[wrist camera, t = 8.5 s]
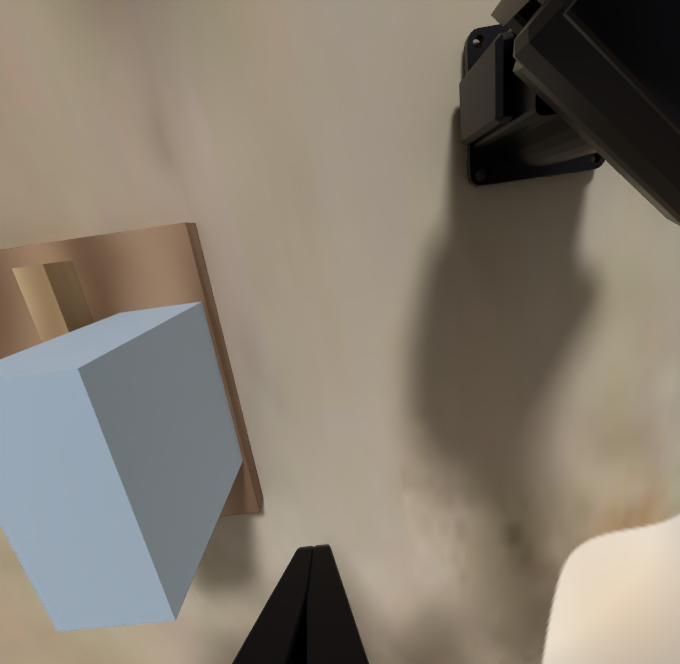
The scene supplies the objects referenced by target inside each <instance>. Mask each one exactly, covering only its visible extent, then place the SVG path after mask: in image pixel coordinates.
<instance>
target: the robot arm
mask: <svg viewBox="0 0 680 664" xmlns="http://www.w3.org/2000/svg"><path fill="white" fill-rule="evenodd" d="M491 16H493V17H494V18H495V19H496V20H497V21H498V22H499V23H500V25H494V26H488V27H482V28H477V29H475V30H473V31H472V32H471V33H470V35H469V36H468V38H467V39H466V41H465V46H464V59H465V77H464V78H463V79H462V81H461V82H460V84H459V90H460V122H461V141H462V143H463V144H464V145H467V172H468V181H469V183H470V184H471V185H472V186H476V187H479V186H486V185H492V184H499V183H506V182H513V181H520V180H527V179H534V178H540V177H547V176H554V175H561V174H568V173H575V172H582V171H588V170H593V169H596V168H599V167H600V166H601V165H602V164H603V163H604V161H605V160H606V161H607V162H608V163H609V164H610V165H611V166H612V167H613V168H614V169H615V170H616V171H617V172H619V173H620V174H621V175H622V176H623V177H624V178H625V179H626V180H627V181H628V182H629V183H630V184H631V185H632V186H633V187H634V188H635V189H636V190H637V191H638V192H640V193H641V194H642V195H643V196H644V197H645V198H646V199H647V200H648V201H649V202H650V203H651V204H652V205H653V206H654V207H655V208H656V209H657V210H658V211H659V212H660V213H662V214H663V215H664V216H665V217H666V218H667V219H668V220H670V221H672V222H674V223H676V224H677V225H679V226H680V0H501V1H500V3H499V4H498V6H497V7H496V8H495V10H494V11H493V13H492V14H491ZM475 39H477V40H479V41H480V43H481V47H480V48H475V47H474V46H473V40H475ZM592 154H593V155H594V156H595V160H594V162H593V163H591V162H590V156H591V155H592ZM477 171H481V172H482V174H483V177H482V179H481V180H477V179H476V176H475V175H476V172H477ZM232 664H369V662H368V659H367V656H366V653H365V650H364V647H363V644H362V641H361V638H360V635H359V632H358V629H357V626H356V623H355V620H354V617H353V614H352V611H351V608H350V605H349V602H348V598H347V595H346V592H345V589H344V586H343V583H342V580H341V577H340V574H339V571H338V568H337V565H336V562H335V559H334V556H333V553H332V550H331V547H330V545H328V544H326V545H316V546H315V547H313V546H306V547H300V548H298V549H297V551H296V552H295V554H294V556H293V558H292V559H291V561H290V563H289V565H288V566H287V568H286V570H285V572H284V573H283V575H282V577H281V579H280V580H279V582H278V584H277V586H276V587H275V589H274V591H273V593H272V595H271V596H270V598H269V600H268V602H267V603H266V605H265V607H264V609H263V610H262V612H261V614H260V616H259V617H258V619H257V621H256V623H255V624H254V626H253V628H252V630H251V631H250V633H249V635H248V637H247V638H246V640H245V642H244V644H243V645H242V647H241V649H240V651H239V652H238V654H237V656H236V658H235V659H234V661H233V663H232Z"/></svg>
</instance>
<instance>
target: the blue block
mask: <svg viewBox="0 0 680 664" xmlns="http://www.w3.org/2000/svg"><path fill="white" fill-rule="evenodd" d="M242 461H243V458H242V455H241V451H240V447H239V443H238V439H237V435H236V431H235V427H234V424H233V420H232V416H231V412H230V408H229V404H228V400H227V396H226V393H225V389H224V385H223V381H222V377H221V373H220V369H219V366H218V362H217V358H216V354H215V350H214V346H213V342H212V338H211V335H210V331H209V327H208V323H207V319H206V315H205V311H204V307H203V304H202V302H195V303H188V304H180V305H173V306H166V307H158V308H151V309H144V310H136V311H129V312H122V313H118V314H115V315H113V316H110V317H108V318H105V319H103V320H100V321H98V322H95V323H92V324H90V325H87V326H85V327H82V328H80V329H77V330H74V331H72V332H69V333H67V334H64V335H62V336H59V337H56V338H54V339H51V340H49V341H46V342H44V343H41V344H38V345H36V346H33V347H31V348H28V349H26V350H23V351H21V352H18V353H15V354H13V355H10V356H8V357H5V358H3V359H0V526H1V528H2V530H3V531H4V533H5V535H6V537H7V539H8V541H9V543H10V545H11V546H12V548H13V550H14V552H15V554H16V556H17V558H18V560H19V561H20V563H21V565H22V567H23V569H24V571H25V573H26V574H27V576H28V578H29V580H30V582H31V584H32V586H33V588H34V589H35V591H36V593H37V595H38V597H39V599H40V601H41V602H42V604H43V606H44V608H45V610H46V612H47V614H48V616H49V617H50V619H51V621H52V623H53V625H54V627H55V629H56V631H57V632H62V631H72V630H83V629H93V628H104V627H114V626H125V625H135V624H146V623H156V622H167V621H176V618H177V616H178V613H179V611H180V609H181V606H182V604H183V602H184V599H185V597H186V594H187V592H188V590H189V587H190V585H191V583H192V580H193V578H194V575H195V573H196V571H197V568H198V566H199V564H200V561H201V559H202V556H203V554H204V552H205V549H206V547H207V545H208V542H209V540H210V537H211V535H212V533H213V530H214V528H215V526H216V523H217V521H218V518H219V516H220V514H221V511H222V509H223V507H224V504H225V502H226V499H227V497H228V495H229V492H230V490H231V488H232V485H233V483H234V480H235V478H236V476H237V473H238V471H239V469H240V466H241V464H242Z"/></svg>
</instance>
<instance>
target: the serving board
mask: <svg viewBox="0 0 680 664" xmlns="http://www.w3.org/2000/svg"><path fill="white" fill-rule="evenodd" d="M195 302H202V304H203V307H204V311H205V315H206V319H207V323H208V327H209V331H210V335H211V338H212V342H213V346H214V350H215V354H216V358H217V362H218V366H219V369H220V373H221V377H222V381H223V385H224V389H225V393H226V396H227V400H228V404H229V408H230V412H231V416H232V420H233V424H234V427H235V431H236V435H237V439H238V443H239V447H240V451H241V455H242V458H243V461H242V464H241V466H240V469H239V471H238V473H237V476H236V478H235V480H234V483H233V485H232V488H231V490H230V492H229V495H228V497H227V499H226V502H225V504H224V507H223V509H222V511H221V514H220V516H228V515H237V514H246V513H256V512H259V511H260V507H261V504H262V501H263V495H262V491H261V487H260V483H259V479H258V475H257V471H256V467H255V463H254V459H253V455H252V451H251V447H250V443H249V439H248V435H247V431H246V427H245V423H244V419H243V415H242V410H241V406H240V402H239V398H238V394H237V390H236V386H235V382H234V378H233V374H232V370H231V366H230V362H229V358H228V354H227V350H226V346H225V342H224V338H223V334H222V330H221V326H220V322H219V318H218V313H217V309H216V305H215V301H214V297H213V293H212V289H211V285H210V281H209V277H208V273H207V269H206V265H205V261H204V257H203V253H202V249H201V245H200V241H199V237H198V233H197V229H196V225H195V223H180V224H173V225H166V226H159V227H153V228H146V229H139V230H132V231H125V232H119V233H112V234H105V235H98V236H91V237H84V238H78V239H71V240H64V241H57V242H50V243H43V244H37V245H30V246H23V247H16V248H9V249H3V250H0V359H3V358H5V357H8V356H10V355H13V354H15V353H18V352H21V351H23V350H26V349H28V348H31V347H33V346H36V345H38V344H41V343H44V342H46V341H49V340H51V339H54V338H56V337H59V336H62V335H64V334H67V333H69V332H72V331H74V330H77V329H80V328H82V327H85V326H87V325H90V324H92V323H95V322H98V321H100V320H103V319H105V318H108V317H110V316H113V315H115V314H118V313H122V312H129V311H136V310H144V309H151V308H158V307H166V306H173V305H180V304H188V303H195Z"/></svg>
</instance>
